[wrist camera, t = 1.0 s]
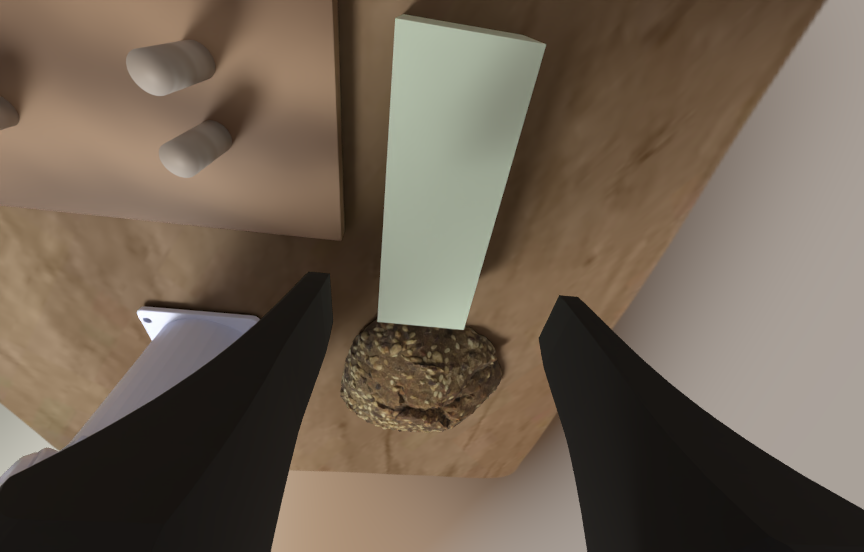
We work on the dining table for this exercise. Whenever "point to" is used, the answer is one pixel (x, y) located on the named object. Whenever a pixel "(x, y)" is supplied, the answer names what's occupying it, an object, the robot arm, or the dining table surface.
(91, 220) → the dining table surface
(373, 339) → the bread roll
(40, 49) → the peg base
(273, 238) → the dining table surface
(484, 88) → the pale green rectangular block
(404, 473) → the dining table surface
